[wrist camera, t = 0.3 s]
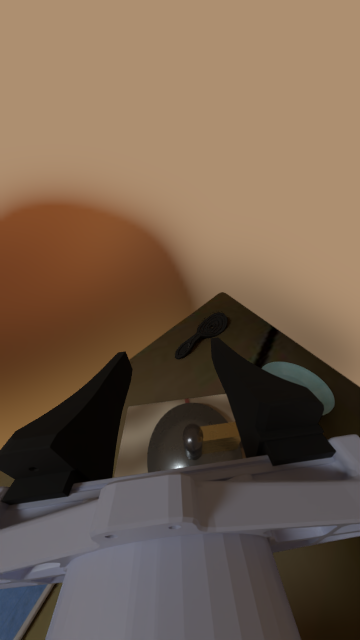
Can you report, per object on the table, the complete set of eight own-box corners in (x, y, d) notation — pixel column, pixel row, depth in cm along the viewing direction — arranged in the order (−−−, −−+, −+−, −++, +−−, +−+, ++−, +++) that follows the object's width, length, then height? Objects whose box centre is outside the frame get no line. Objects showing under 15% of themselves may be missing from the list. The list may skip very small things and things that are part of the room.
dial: (143, 537, 16) (132, 531, 13) (151, 410, 27) (146, 393, 24) (263, 517, 16) (274, 507, 14) (222, 401, 27) (225, 383, 25)
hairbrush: (164, 345, 41) (211, 307, 56) (166, 355, 43) (211, 316, 58) (188, 359, 36) (233, 313, 51) (189, 369, 38) (232, 322, 53)
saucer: (258, 408, 28) (260, 401, 27) (257, 363, 37) (259, 356, 36) (341, 434, 24) (348, 427, 23) (316, 376, 33) (321, 369, 32)
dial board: (307, 536, 16) (314, 533, 15) (99, 573, 15) (93, 574, 14) (241, 396, 30) (242, 390, 29) (130, 411, 29) (128, 405, 28)
